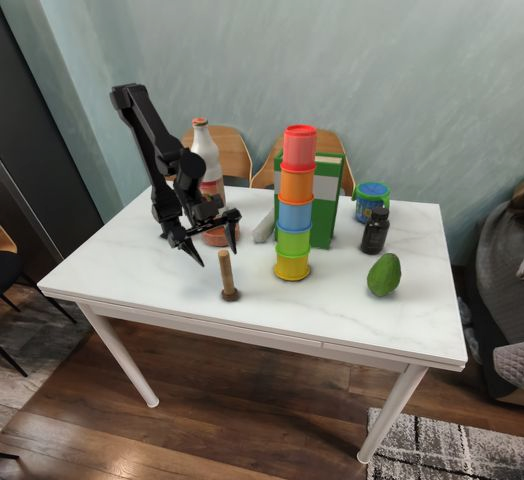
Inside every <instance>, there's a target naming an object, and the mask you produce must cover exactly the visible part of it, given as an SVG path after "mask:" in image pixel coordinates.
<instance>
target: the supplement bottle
mask: <svg viewBox="0 0 524 480" xmlns="http://www.w3.org/2000/svg"><path fill="white" fill-rule="evenodd" d="M390 213H391V211H390V208H389V209H387V208H385V207H384V206H383V207H375V208H373V209H372V213H371V217H370V218H368V219H367V220H366V223H364V227H363V231H362V232H363V233H362V238H361V242H360V250H361V251H362V252H363V253H365V254H367V255H377V254H380V253H382V251H383V249H384V247H385V245H386V241H387V237H388V233H389V230H390V227H391V222H390V219H389V217H390Z"/></svg>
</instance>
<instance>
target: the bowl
mask: <svg viewBox="0 0 524 480" xmlns="http://www.w3.org/2000/svg"><path fill="white" fill-rule="evenodd" d="M220 217H221V216H216V217H215V218H213V219H214V220H215V219H218V218H220ZM210 226H212V225H210ZM207 227H209V226H207ZM202 229H203V228H202ZM224 230H225V228H223V227H222V226H220V227H217V228H215V229H212V230H209V231H206V232H204V233H201V235H202V239H203V241H204V242H205V243H206V244H208V245H209V246H214V247H225V246H230V245H229V243H228V241H227V239H226V237H225V235H224V232H223V231H224ZM240 231H241V230H240V222H239V223H238V225H237V226H236V227H235V240H236V241H238V239H239V238H240V236H241V232H240Z"/></svg>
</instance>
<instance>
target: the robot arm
mask: <svg viewBox="0 0 524 480" xmlns="http://www.w3.org/2000/svg"><path fill="white" fill-rule="evenodd" d="M108 96H109V100H110V102H111V105H112V107H113V109H114V110H115V111H116V112H117V115H118V118H119V119H120V120H121V122H123V123H124V124H125V125H126V126H127V127H128V128H129V130H130V131H131V134H132V137H133V139H134V143H135V145H136V148H137V150H138V153H139V155H140V158H141V161H142V164H143V167H144V169H145V172H146V175H147V177H148V181H149V182H150V186H151V191H150V200H151V215H152V218H153V219H154V220H155V222H157V224H158V225H159V224H160V228H161V231H162V233H161V234H160V235H159V236H160V238H163V239H166V240H167V242H168V244H169V247H170V248H171V249H176V248H177V250H178V251H181V250H182V252H184V253H186V254H187V255H189V256H190V257H191V258H192V259H193V260H194V261H195V262H196V263H197V264H198V265H200V266H201V268H205V267H206V265H205V263H204V261H203V258H202V257H201V255H200V253H199V251H198V250H197V248H196V246H195V245H194V242H193V239H192V238H193V237H195V236H198V235H200V234H201V235H202V233H204V232H206V231H209V230H212V229H215V228H217V227H220V226H222V227H223V228H225V230H224V231H223V232H224V235H225V237H226V239H227V241H228V243H229V245H228V246H229V248H230V250H231V252H232V254H233V255H234V256H236V255H237V254H238V251H237V249H238V248H237V240H235V227H236V226H237V225H238V223H239V224H240V222H241V220H242V218H243V215H242V213H241V211H240V210H239V209H238V208H237V207H233V208H230V209H228V210H227V209H226V211H224V212H223V214H221V215H220V216H219V215H218V214H220V213H219V210H218V209H221V208H224V203H223V200H222V198H221V196H220V194H219V193H218V194H215V195H212V196H211V201H207V199H206V197H205V196H204V197H203V195H202V193H201V191H200V187H201V184H202V182H203V179H204V176H205V173H206V163H205V161H204V159H203V158H202V157H201V156H199V155H198V154H196V153H194V152H191V148H190V146H184V144H183V143H182V142H181V140H180V139H179V138H178V137H176V136H174V135H172V134H171V133H170V132H169V130H168V128H167V127H166V125H165V122H164V121H163V120H162V118H161V116H160V114H159V113H158V111H157V109H156V107H155V105H154V104H153V102H152V100H151V99H150V95H149V91H148V89H147V87H146V85H145V84H142V83H136V82H131V83H125V84H120V85H114V86H111V91H110V92H109V93H108ZM171 177H174V178H173V180H172V187H171V186H170V185H169V184H168V182H167V180H166V178H171ZM184 215H185V217H187V220H188V222H189V224H190V226H191V227H190V228H187V229H186V227H185V226H184V225H182V222H181V220H180V217H183V216H184ZM216 215H218V216H219V217H220V218H218V219H215V220H214V219H213V218H215V217H217V216H216ZM210 225H212V226H210ZM207 226H209V227H207ZM202 228H203V229H202Z"/></svg>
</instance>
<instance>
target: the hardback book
mask: <svg viewBox="0 0 524 480" xmlns="http://www.w3.org/2000/svg"><path fill="white" fill-rule="evenodd" d="M282 162H283V148H281V150H280V151H279V152H278V153H277V154H276V155H275V156H274V157H273V205H274V206H273V208H274V242H278V227H277V221H278V220H279V204H280V200H279V199H278V195H279V193H280V192H281V171H282V169H281V167H280V164H281V163H282ZM345 162H346V153H338V152H324V151H316V152H315V164H316V169H315V170H314V179H313V191H312V193H313V194H314V200H313V201H312V208H311V222H312V227H311V229H310V236H309V245H310V246H311V248H317V249H323V250H329V249H330V242H331V239H333V238H334V233H335V227H336V221H337V214H338V208H339V200H340V195H341V189H342V188H341V187H342V183H343V181H342V180H343V174H344V169H345Z"/></svg>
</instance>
